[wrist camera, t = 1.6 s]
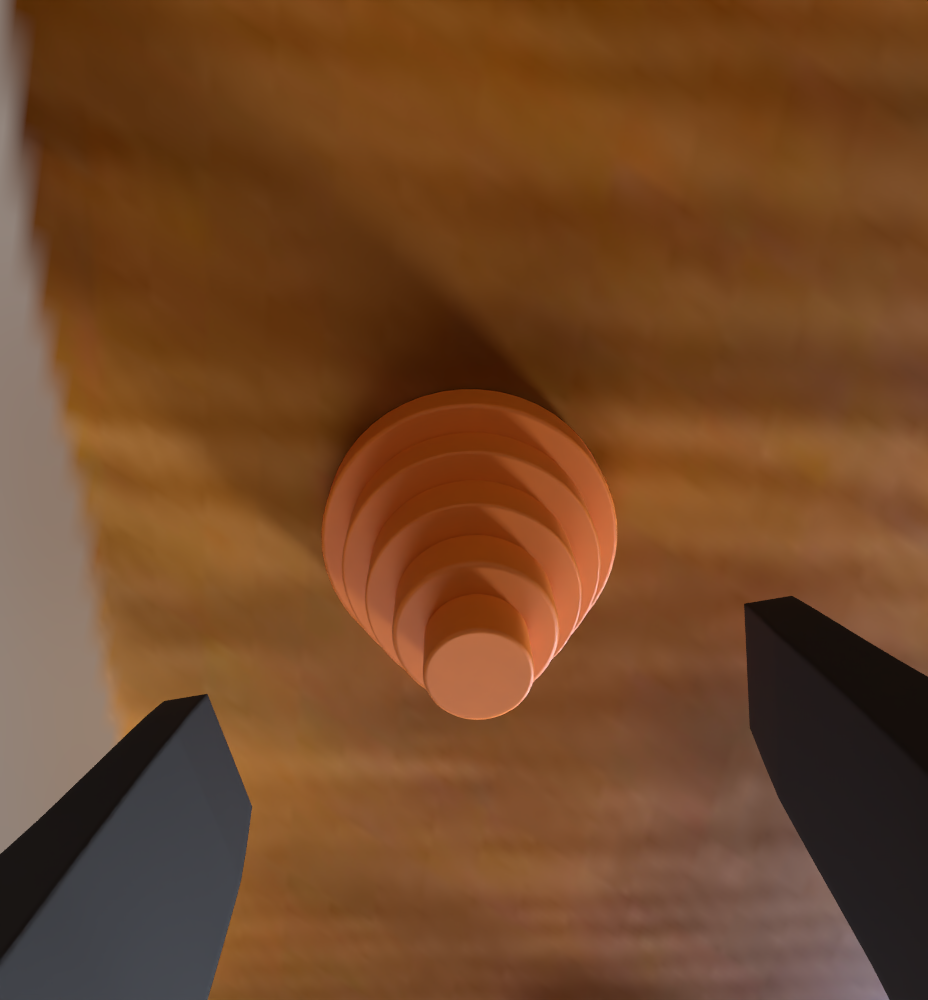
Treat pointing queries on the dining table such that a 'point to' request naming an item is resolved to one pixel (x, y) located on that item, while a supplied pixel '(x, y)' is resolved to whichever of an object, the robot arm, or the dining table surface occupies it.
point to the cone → (469, 542)
